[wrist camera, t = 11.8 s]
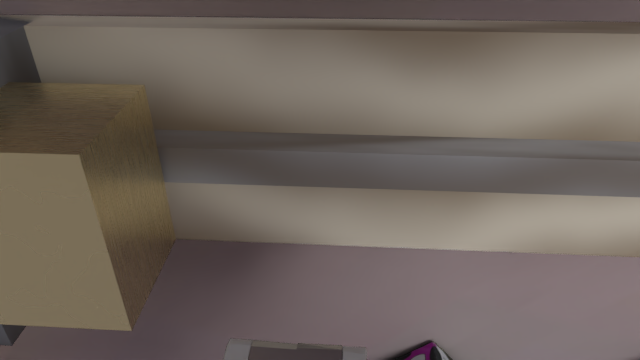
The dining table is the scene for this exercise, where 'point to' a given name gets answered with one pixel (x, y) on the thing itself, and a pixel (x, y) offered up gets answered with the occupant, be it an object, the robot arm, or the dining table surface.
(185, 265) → the dining table surface
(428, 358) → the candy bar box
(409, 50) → the guide rail
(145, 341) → the dining table surface
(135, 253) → the tan rectangular block
